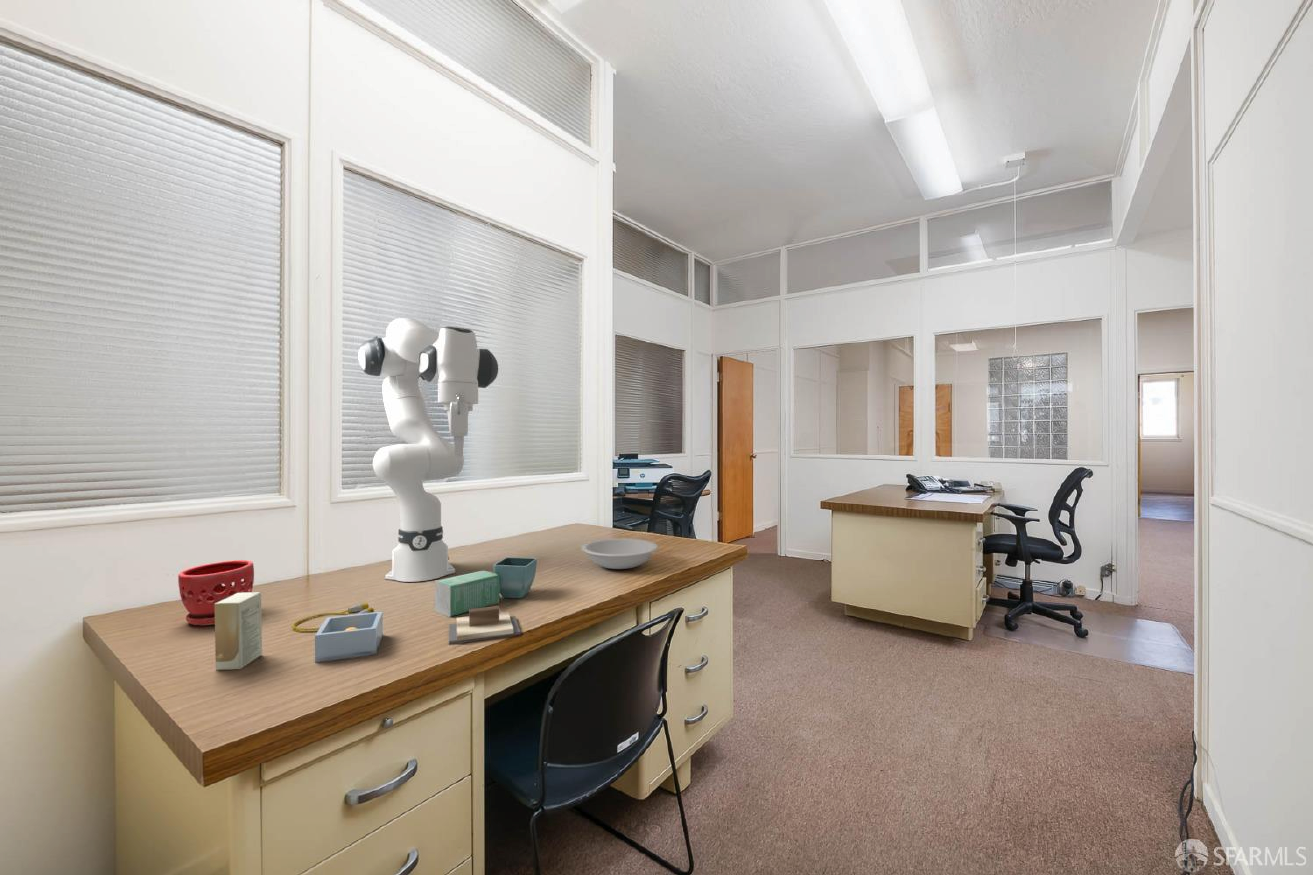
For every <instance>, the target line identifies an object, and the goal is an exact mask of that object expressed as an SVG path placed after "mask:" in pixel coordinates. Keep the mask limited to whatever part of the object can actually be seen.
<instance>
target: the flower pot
mask: <svg viewBox="0 0 1313 875" xmlns="http://www.w3.org/2000/svg"><path fill="white" fill-rule="evenodd" d="M537 562H538V558H534V557H514V556H513V557H510V556H509V557H508V556H506V557H504V558H503V559H501V560H500V561H497V562H496V563H494V564H493V573H495V574H498V575H499V583H500V594H499V595H501V597H502V598H503V599H506V598H507V599H522V598H523V597H525V596H526V595H527V594H528V593H529V591H530V590H531V588H532V586H533V584H534V580H535V577H536V569H537Z"/></svg>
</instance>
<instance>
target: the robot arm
mask: <svg viewBox="0 0 1313 875" xmlns="http://www.w3.org/2000/svg"><path fill="white" fill-rule="evenodd" d="M385 335H386V336H385V337H378V335H376V336H374V337H373V338H372V339H369V340H365V341H364V342H363V343H362V344H361V345H360V346H359V350H358V354H357V355H358V356H357V358H358V362H359V366H360V367H361V370H362V371H363V373H365V374H366V375H367V376H368V375H369V376H373V377H380V376H383V377H384V376H385V378H384V379H383V382H382V385H381V386H382V389H381V390H382V391H381V392H382V401H383V405H384V410H385V413H386V419H387V421H388V425H389V428H390V431H391V433H392V434H393V436H395V437H396V438H397V439H400V440H402V441H404V442H406V443H397V444H392V445H386V446H383V447H380V448H379V449H378V450H377V451H376V452H375V454H374V456H373V458H372V469H373V472H374V474H375V475H376V477H377V478H378V479H379V480H380V481H382V482H383V483H385V484H386V485H388V487H389V488H390V489H391V490H392V491H393V493H394V495H395V497H396V499H397V502H398V510H399V529H398V533H397V538H398V539H397V540H398V544H397V546H395V547H394V548H393V549H392V557H391V558H392V561H391V564H392V566H391V567H392V568H391V570H390V571H389V572H388V573H386V574H385V580H393V581H397V582H403V583H405V582H406V583H409V582H410V583H414V582H425V581H431V580H435V579H439V578H442V577H445V576H447V575H452V574H455V573H456V568H455V567H454V566H453V565H452V564H451V563H450V561H449V560H450V557H449V546H448V545H447V544H446V543H445V542H444V540H443V538H444V530H443V528H444V527H443V526H442V502H441V501H440V499H439V497H437V496H436V495H434V494H432V493H430V492H428V491H426V489H425V488H424V485H423V484H424V483H423V482H424V481H425V482H426V481H438V480H445V479H446V480H447V479H448V478H449V479H450V478H452V477H456V476H458V475H459V474H460V473H461V472H462V470H463V468H464V465H465V457H464V442H465V440H464V439H465V437H466V436H468V433H469V413H470V412H472V411H473V406H474V405H477V404H479V388H480V389H487V387H488V386H490V385H491V384H492V383H493V382H494V381H495V380H496V379H497V377H498V376H499V375H498V374H499V364H498V363H499V362H498V360H497V359H496V357H495V355H494V354H493V352H491V350H490V349H488V348H478V344H477V343H478V342H477V336H476V333H475V332H474V331H473V330H471V329H469V328H462V327H457V326H450V325H449V326H446V325H445V326H442V327H441V328H440V329H439V332H438V331H437V330H435V329H433V328H430V327H429V326H427V325H426V324H424V323H422V322H421V321H418V320H416V319H413V318H409V317H398V318H395V319H394V320H392V321H391V322H390V323H389V324H388V325H387V328H386V333H385ZM420 378H421V380H422V381H427V382H428V383H430V384H434V385H435V384H436V385H437V403H438V404H442V405H443V411H446V413H447V420H448V422H447V423H448V428H449V435H450V436H451V437H453V443H451V442H449V441H448V440H447V439H446V438H444V437H443V436H442V435H441V434H440V433H439V431H437V429H436V428H435V427H434V425H433V423H432V422H431V418H430V417H429V413H428V410H427V408H426V405H425V401H424V398H423V395H422V392H421V390H420V386H419V379H420Z"/></svg>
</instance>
